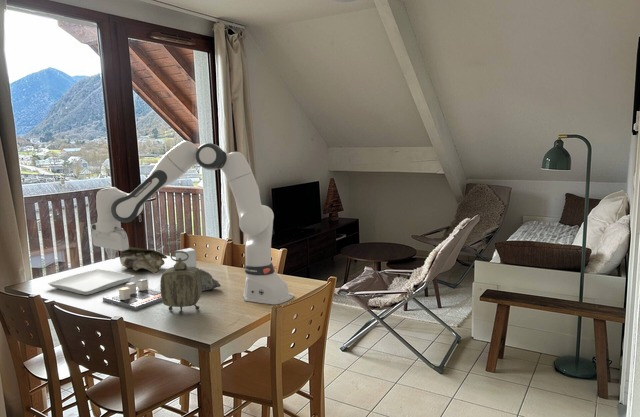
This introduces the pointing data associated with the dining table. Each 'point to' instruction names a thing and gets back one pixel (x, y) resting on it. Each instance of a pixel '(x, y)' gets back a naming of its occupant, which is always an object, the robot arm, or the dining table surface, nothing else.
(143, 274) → the dining table surface
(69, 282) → the square plate
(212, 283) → the mineral rock
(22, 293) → the dining table surface
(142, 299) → the panel
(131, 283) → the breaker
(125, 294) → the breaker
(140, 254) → the hollow geode rock
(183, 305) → the tabletop clock
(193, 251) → the skincare box
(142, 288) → the breaker
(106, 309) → the dining table surface
